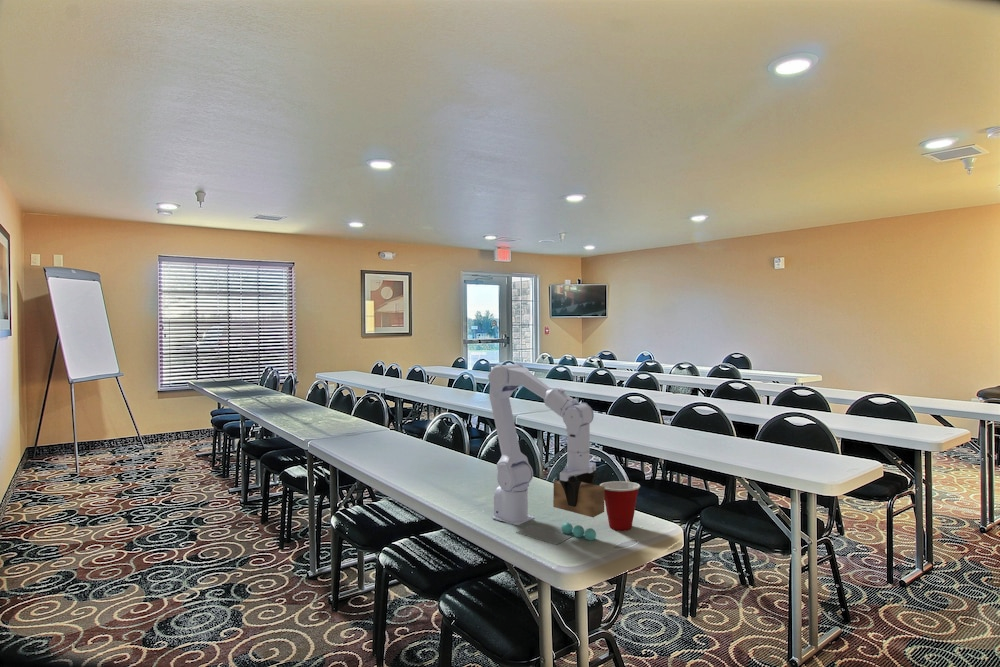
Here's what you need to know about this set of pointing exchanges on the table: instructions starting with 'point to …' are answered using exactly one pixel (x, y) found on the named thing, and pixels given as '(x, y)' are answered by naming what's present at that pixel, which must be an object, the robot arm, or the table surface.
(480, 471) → the table surface
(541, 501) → the table surface
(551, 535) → the felt mat
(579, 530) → the marble
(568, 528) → the marble
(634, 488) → the plastic cup
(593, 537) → the teal egg
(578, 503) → the wooden block
